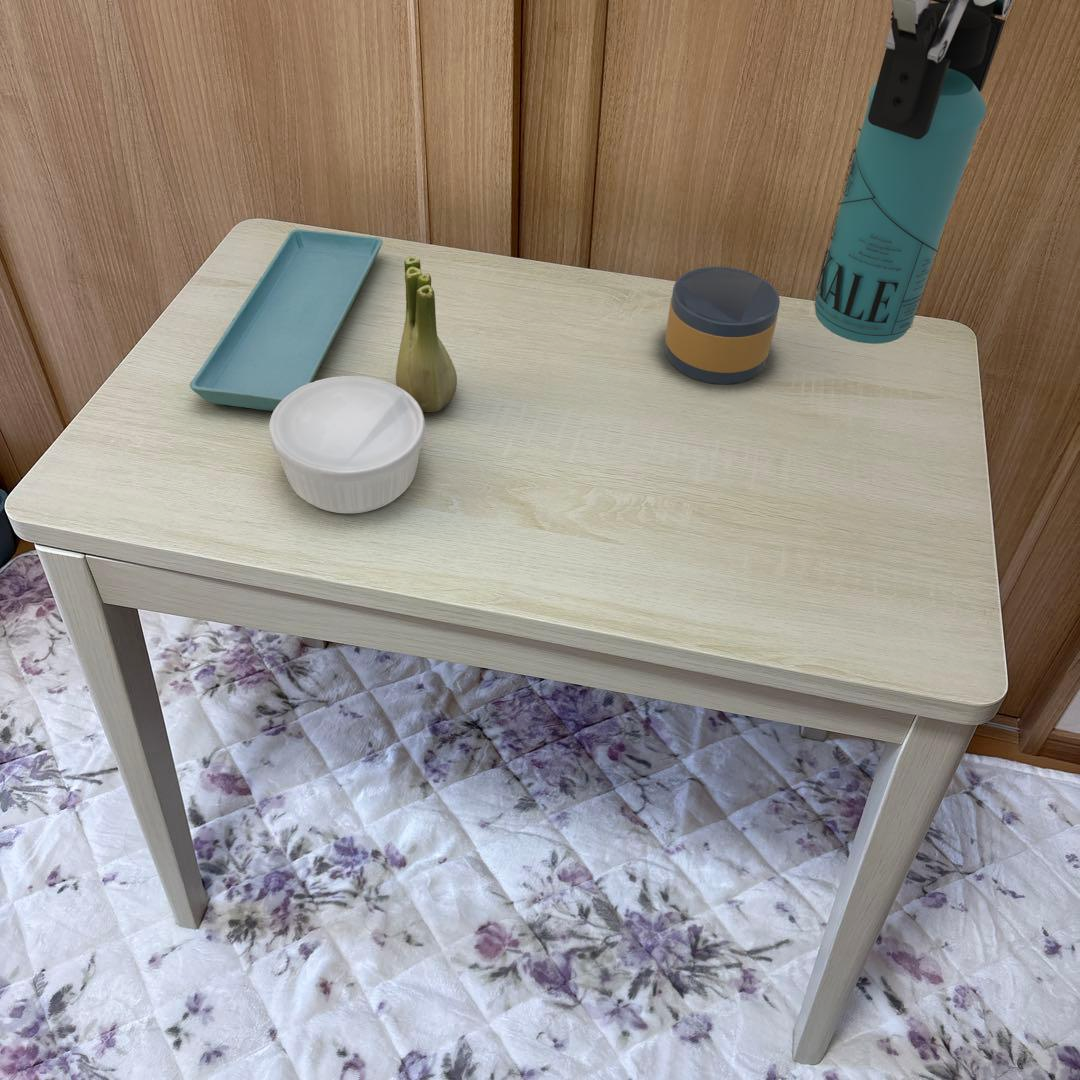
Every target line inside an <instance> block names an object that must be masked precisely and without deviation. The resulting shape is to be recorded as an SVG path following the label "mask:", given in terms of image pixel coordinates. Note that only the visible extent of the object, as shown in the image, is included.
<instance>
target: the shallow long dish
mask: <svg viewBox="0 0 1080 1080" xmlns="http://www.w3.org/2000/svg"><path fill="white" fill-rule="evenodd" d="M383 243H384V241H383V239H382V238H380V237H375V236H374V237H373V236H365V235H355V234H346V233H337V232H329V231H328V232H327V231H319V230H308V229H302V228H301V229H299V228H297V229H296V228H295V229H292V230H291V231H290V232H289V233H288V235H287V236H286V238H285V240H284V242H282V244H281V246H280V248H278V250H277V251H276V254H275V255H274V257H273V259H272V260H271V262H270V263H269V265H268V266H267V268H266V269H265V271H264V272H263V274H262V275H261V277H260V278H259V280H258V281H257V283H256V284H255V286H254V287H253V289H252V290H251V292H250V293H249V295H248V296H247V298H246V299H245V301H244V302H243V303H242V305H241V307H240V308H239V310H238V311H237V313H236V314H235V316H234V317H233V319H232V320H231V322H230V324H229V325H228V327H226V330H225V331H224V333H223V334H222V336H221V337H220V339H219V341H218V342H216V344H215V346H214V348H213V349H212V351H211V352H210V354H209V356H208V357H207V358H206V360H205V361H204V363H203V364H202V365H201V368H200V369H199V370H198V371H197V373H196V374H195V376H194V377H193V379H192V380H191V381H190V382H189V387H190V389H191V391H193V392H194V393H195V394H197V395H198V396H199V397H201V398H202V399H204V401H206V402H207V403H210V404H215V405H221V406H223V405H224V406H232V407H237V408H238V407H239V408H246V409H254V410H261V411H269V412H274V410H275V408H276V407H277V405H278V404H279V403H280V402H281V401H282V400H283V399H284V398H285V397H286V396H288V395H289V394H290V393H292V392H293V391H295V390H296V389H298V388H300V387H301V386H304V385H306V384H309V383H312V382H314V379H315V377H316V375H317V373H318V372H319V370H320V367H321V366H322V364H323V362H324V360H325V358H326V356H327V354H328V352H329V351H330V349H331V346H332V344H333V342H334V341H335V338H336V336H337V335H338V333H339V331H340V329H341V327H342V325H343V323H344V322H345V319H346V318H347V315H348V313H349V311H350V309H351V308H352V305H353V303H354V302H355V300H356V298H357V295H358V294H359V292H360V290H361V288H362V286H363V284H364V282H365V280H366V278H367V277H368V274H369V272H370V271H371V269H372V267H373V265H374V263H375V261H376V259H377V257H378V254H379V252H380V250H381V247H382V245H383Z"/></svg>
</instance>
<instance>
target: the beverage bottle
mask: <svg viewBox="0 0 1080 1080" xmlns="http://www.w3.org/2000/svg"><path fill="white" fill-rule="evenodd" d="M947 6H948V5H946V4H942V3H939V2H930V3H929V5H928V9H931V10H935V12H936V21H937V29H938V27H939V24H940V22H941V20H942V17H943V15H944V13H945V10H946V8H947ZM990 28H991V20H990V18H989V17H988V16H987V15H986V14H984V13H982V12H981V11H979V10H976V9H974V8H971V7H967V6H966V8H965V10H964V12H963V15H962V17H961V19H960V21H959V24H958V26H957V28H956V31H955V33H954V35H953V37H952V40H951V42H950V44H949V47H948V49H947V51H946V53H945V56H944V58H946V59H950V60H951V61H950V65H949V68H948V71H947V74H946V77H945V81H944V84H943V87H942V90H941V93H940V96H939V100H938V103H937V106H936V109H935V112H934V116H933V119H932V122H931V125H930V128H929V131H928V133H927V134H926V135H925V136H924V137H923V138H921V139H913V138H910V137H907V136H904V135H901V134H899V133H896V132H893V131H890V130H887V129H884V128H881V127H878V126H875V125H872V124H871V123H870V122H869V120H868V114H869V111H870V107H871V103H872V100H873V96H874V92H875V88H876V85H877V81H876V82H875V83H873V85H872V87H871V89H870V91H869V95H868V104H867V107H866V112H865V116H864V119H863V123H862V126H861V127H858V130H857V131H856V133H858V131H859V135H858V134H856V136H855V138H857V136H858V139H857V141H856V142H855V143H854V145H855V146H854V148H853V150H852V151H851V155H850V158H849V161H848V166H847V170H849V171H848V172H846V174H845V176H846V177H845V178H844V181H843V185H842V193H843V194H842V198H841V202H838V204H837V206H839V205H840V206H839V210H838V211H837V212H836V213H835V215H834V218H833V222H834V223H832V226H831V231H830V233H832V234H830V236H829V240H828V241H829V242H830V243H829V244H830V245H829V246H828V245H827V246H826V251H825V254H824V257H823V261H822V263H821V270H820V274H819V278H818V282H817V285H816V289H815V290H814V293H816V292H817V293H816V295H815V296H814V297H813V300H812V301H814V302H813V305H814V312H815V317H816V318H817V320H818V321H819V323H820V324H821V325H822V326H823V327H824V328H825V329H826V330H828V331H830V332H831V333H832V334H834V335H836V336H838V337H840V338H842V339H846V340H849V341H851V342H857V343H861V344H873V345H878V344H879V345H881V344H888V343H890V342H894V341H897V340H898V339H901V338H902V337H903V336H905V334H907V332H908V330H910V329H911V328H912V326H913V323H914V321H915V318H916V316H917V313H918V310H919V306H920V303H921V300H922V298H923V296H924V292H925V290H926V285H927V282H928V280H929V279H930V275H931V274H932V273H931V272H932V269H933V266H934V265H933V264H934V261H935V260H936V258H937V255H938V252H939V251H938V249H939V245H940V241H941V239H942V235H943V232H944V229H945V226H946V224H947V221H948V218H949V215H950V212H951V209H952V207H953V204H954V201H955V198H956V195H957V192H958V189H959V186H960V184H961V180H962V178H963V175H964V173H965V170H966V167H967V164H968V161H969V158H970V155H971V152H972V149H973V147H974V145H975V144H974V143H975V141H976V138H977V135H978V132H979V130H980V127H981V124H982V122H983V121H984V119H985V116H986V114H987V104H986V102H985V100H984V97H983V95H982V94H981V92H979V91H978V89H977V87H976V86H975V84H974V83H973V82H972V80H971V79H970V78H969V77H967V76H966V75H964V74H963V73H961V72H958V71H956V70H953V69H966V68H972V67H975V66H977V65H979V64H981V62H982V60H983V57H984V54H985V51H986V43H987V40H988V36H989V32H990Z"/></svg>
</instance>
